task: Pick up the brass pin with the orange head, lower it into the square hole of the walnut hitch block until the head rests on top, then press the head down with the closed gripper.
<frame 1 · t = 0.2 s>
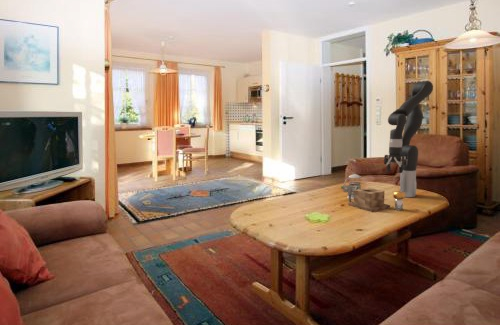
hand: (394, 172, 217), 17 cm above the table, tool pointing down, fingers open, 8 cm apart
mechanical component: (349, 201, 218), on the table
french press: (353, 197, 228), on the table
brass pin: (398, 209, 197), on the table
hitch block: (368, 206, 205), on the table
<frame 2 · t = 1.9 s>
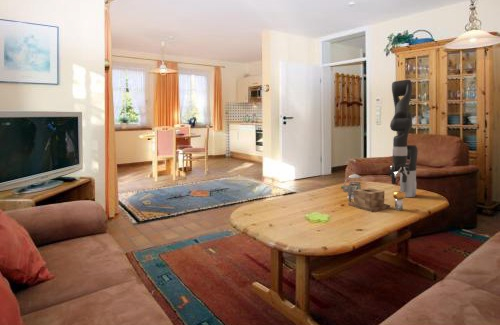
hand: (399, 183, 195), 15 cm above the table, tool pointing down, fingers open, 8 cm apart
nothing on the table moved.
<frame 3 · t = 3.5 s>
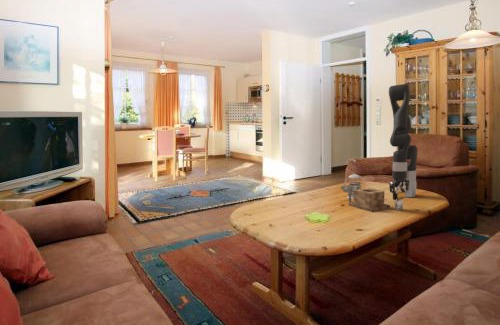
hand: (399, 198, 196), 6 cm above the table, tool pointing down, fingers closed on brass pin, 6 cm apart
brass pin: (398, 209, 197), on the table, touching gripper
everything else where it was.
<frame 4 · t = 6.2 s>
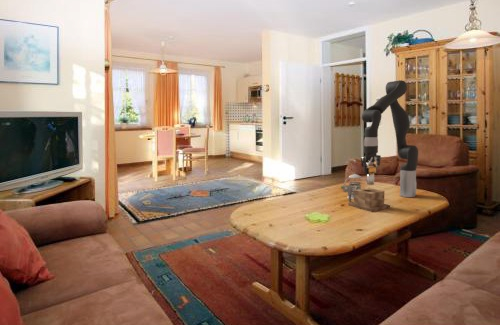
hand: (370, 173, 202), 20 cm above the table, tool pointing down, fingers closed on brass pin, 6 cm apart
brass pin: (370, 184, 202), point 14 cm above the table, touching gripper
everything else where it was.
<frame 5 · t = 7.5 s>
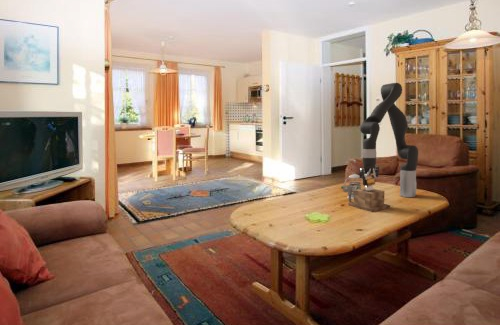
hand: (369, 184, 203), 13 cm above the table, tool pointing down, fingers closed on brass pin, 6 cm apart
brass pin: (368, 195, 204), point 7 cm above the table, touching gripper
everything else where it was.
when the fingers open (11 cm above the table, at t = 8.8 s): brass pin drops 2 cm, resting on hitch block.
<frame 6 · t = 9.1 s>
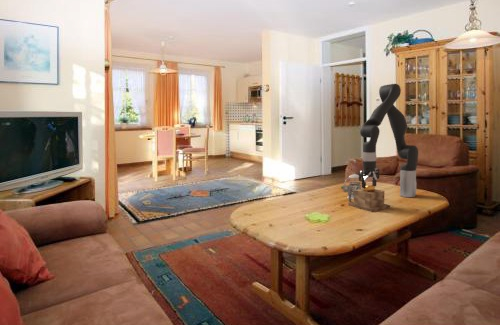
hand: (369, 187, 203), 12 cm above the table, tool pointing down, fingers open, 8 cm apart
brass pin: (369, 202, 205), point 2 cm above the table, touching hitch block
everything else where it was.
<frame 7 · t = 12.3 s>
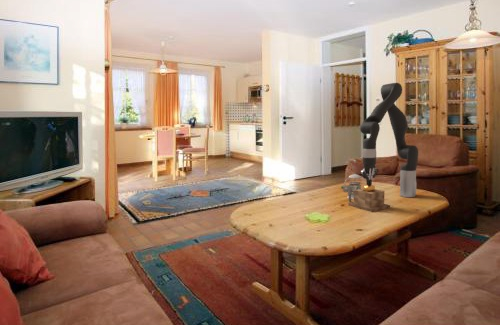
hand: (369, 185, 203), 13 cm above the table, tool pointing down, fingers closed
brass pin: (369, 202, 205), point 2 cm above the table, touching gripper, hitch block
everything else where it was.
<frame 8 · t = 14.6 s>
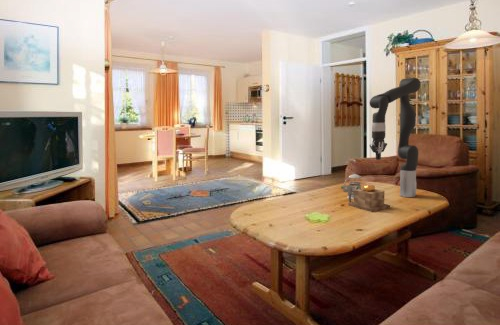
hand: (378, 159, 207), 27 cm above the table, tool pointing down, fingers closed
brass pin: (369, 202, 205), point 2 cm above the table, touching hitch block
everything else where it was.
at the end: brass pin 0.2 cm off-centre on the hitch block, point 2.5 cm above the hitch block's base; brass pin tilted 0°; the gripper is holding nothing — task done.
